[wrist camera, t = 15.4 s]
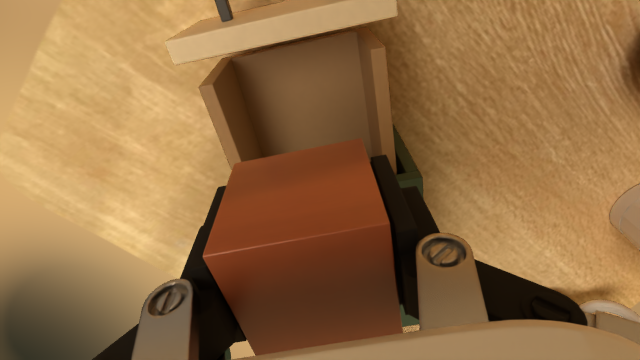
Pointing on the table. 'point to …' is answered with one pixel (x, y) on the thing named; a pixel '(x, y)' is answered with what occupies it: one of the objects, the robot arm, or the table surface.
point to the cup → (628, 215)
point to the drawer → (294, 77)
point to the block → (306, 250)
